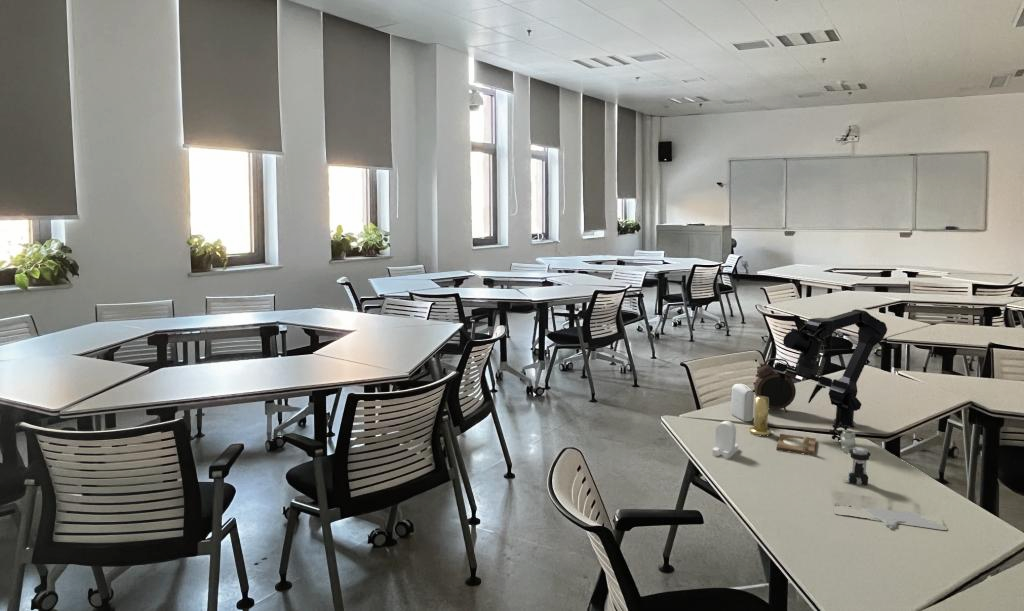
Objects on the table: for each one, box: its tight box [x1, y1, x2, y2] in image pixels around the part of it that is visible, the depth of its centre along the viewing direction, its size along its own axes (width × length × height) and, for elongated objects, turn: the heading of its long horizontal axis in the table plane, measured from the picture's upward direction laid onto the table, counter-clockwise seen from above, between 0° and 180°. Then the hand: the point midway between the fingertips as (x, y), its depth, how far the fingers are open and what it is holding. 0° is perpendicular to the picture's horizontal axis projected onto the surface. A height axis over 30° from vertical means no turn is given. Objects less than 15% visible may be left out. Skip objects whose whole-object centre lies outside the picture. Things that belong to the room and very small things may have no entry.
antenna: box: [845, 505, 948, 531], centre depth 183 cm, size 25×24×1 cm
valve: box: [829, 422, 856, 454], centre depth 228 cm, size 7×7×12 cm
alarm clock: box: [753, 357, 798, 413], centre depth 265 cm, size 15×7×20 cm, turn 81°
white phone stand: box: [711, 420, 739, 460], centre depth 223 cm, size 5×10×10 cm, turn 145°
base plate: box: [775, 433, 816, 456], centre depth 229 cm, size 14×11×5 cm
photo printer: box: [730, 383, 755, 422], centre depth 258 cm, size 10×4×12 cm, turn 12°
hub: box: [748, 395, 772, 437], centre depth 242 cm, size 9×7×12 cm
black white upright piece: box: [842, 446, 872, 486], centre depth 199 cm, size 7×5×10 cm
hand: (794, 398), depth 242 cm, fingers open, 9 cm apart
